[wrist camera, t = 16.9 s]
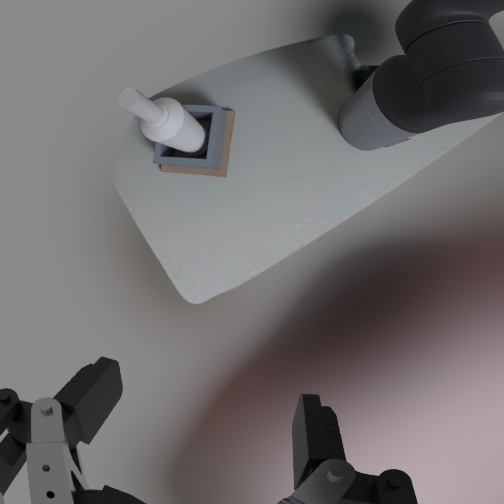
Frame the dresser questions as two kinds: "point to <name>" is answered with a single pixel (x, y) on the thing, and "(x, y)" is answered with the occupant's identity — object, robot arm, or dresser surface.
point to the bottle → (165, 122)
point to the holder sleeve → (218, 146)
